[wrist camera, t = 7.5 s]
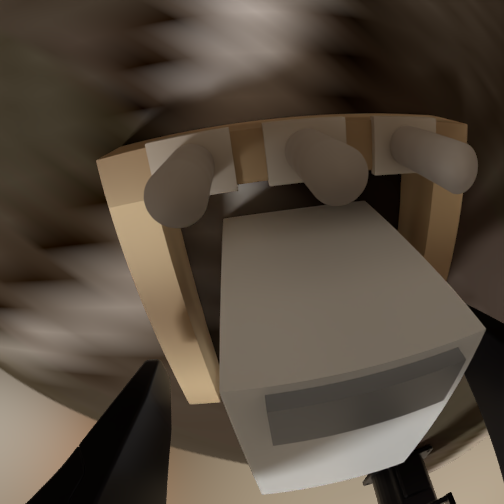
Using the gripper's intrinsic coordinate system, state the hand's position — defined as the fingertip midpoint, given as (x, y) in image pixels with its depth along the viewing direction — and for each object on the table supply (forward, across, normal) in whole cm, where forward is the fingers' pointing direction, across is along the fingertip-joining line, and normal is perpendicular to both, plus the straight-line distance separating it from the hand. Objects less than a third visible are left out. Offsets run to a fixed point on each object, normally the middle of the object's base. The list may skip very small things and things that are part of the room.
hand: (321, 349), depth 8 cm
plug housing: (+3, 0, 0) cm, 3 cm away
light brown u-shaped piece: (+3, 0, 0) cm, 3 cm away
